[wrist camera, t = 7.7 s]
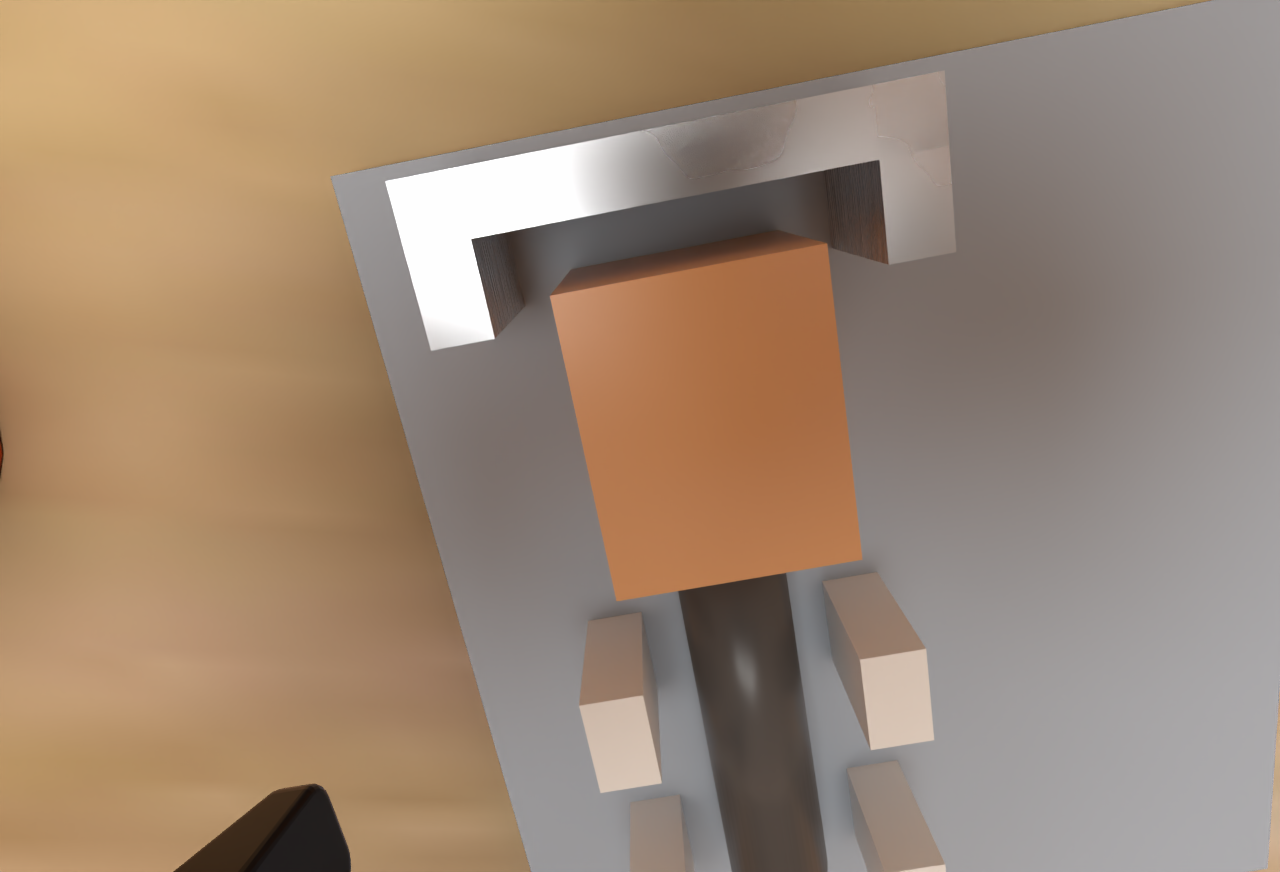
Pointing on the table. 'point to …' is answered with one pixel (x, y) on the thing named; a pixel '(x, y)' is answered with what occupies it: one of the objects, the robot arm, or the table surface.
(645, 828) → the clips
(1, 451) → the deodorant
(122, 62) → the table surface
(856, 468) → the board
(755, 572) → the plug
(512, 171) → the bracket
